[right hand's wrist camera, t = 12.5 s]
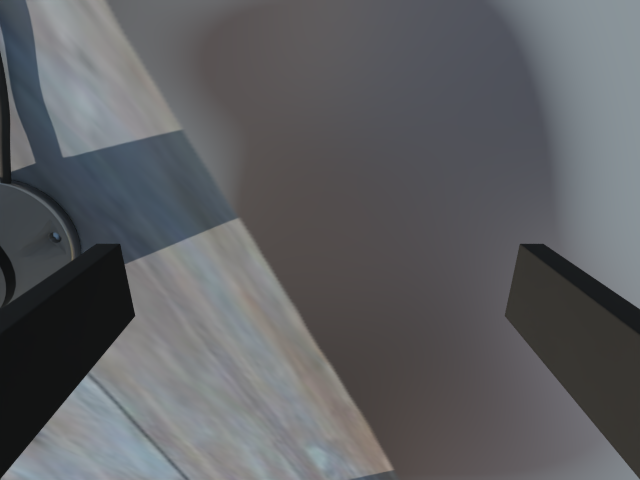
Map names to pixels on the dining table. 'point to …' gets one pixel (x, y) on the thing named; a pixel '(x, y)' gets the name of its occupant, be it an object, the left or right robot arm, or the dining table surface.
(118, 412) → the dining table surface
